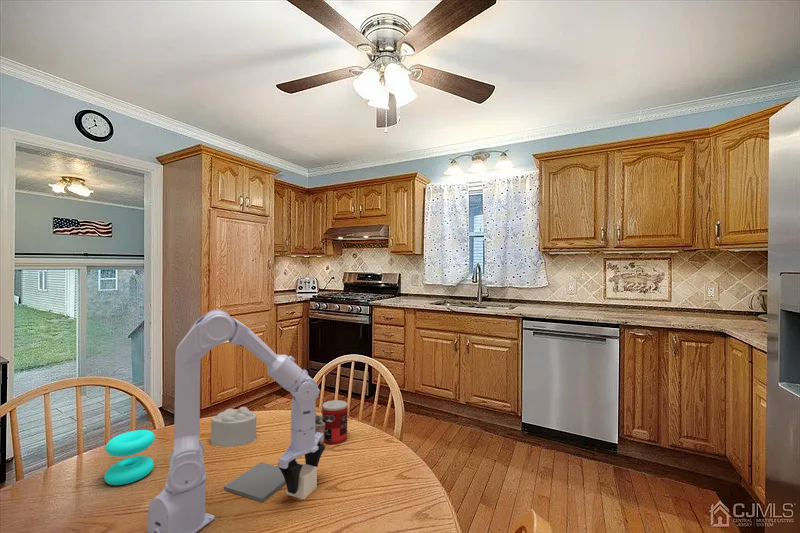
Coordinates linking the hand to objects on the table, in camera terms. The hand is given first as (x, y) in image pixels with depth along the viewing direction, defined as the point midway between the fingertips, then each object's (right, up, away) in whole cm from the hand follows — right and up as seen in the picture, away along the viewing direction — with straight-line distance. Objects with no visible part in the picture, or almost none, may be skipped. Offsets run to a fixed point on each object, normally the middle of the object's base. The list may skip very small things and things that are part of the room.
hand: (301, 483), depth 82 cm
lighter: (-3, -3, +21) cm, 22 cm away
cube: (0, -2, 0) cm, 2 cm away
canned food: (+3, -3, +27) cm, 27 cm away
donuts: (-46, -2, +5) cm, 46 cm away
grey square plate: (-11, -2, +3) cm, 12 cm away
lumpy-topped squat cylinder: (-29, -3, +26) cm, 39 cm away
